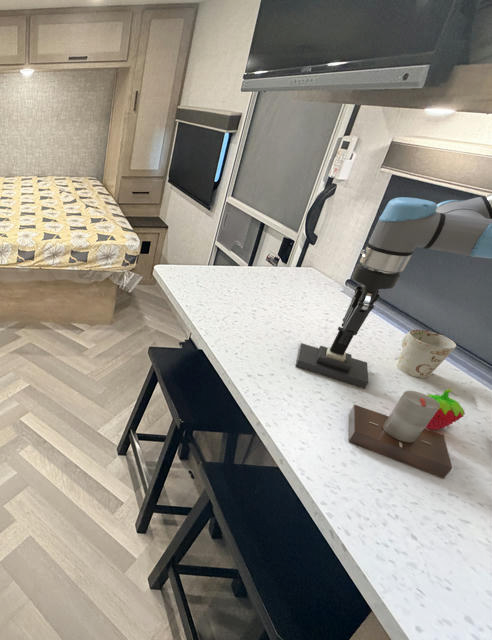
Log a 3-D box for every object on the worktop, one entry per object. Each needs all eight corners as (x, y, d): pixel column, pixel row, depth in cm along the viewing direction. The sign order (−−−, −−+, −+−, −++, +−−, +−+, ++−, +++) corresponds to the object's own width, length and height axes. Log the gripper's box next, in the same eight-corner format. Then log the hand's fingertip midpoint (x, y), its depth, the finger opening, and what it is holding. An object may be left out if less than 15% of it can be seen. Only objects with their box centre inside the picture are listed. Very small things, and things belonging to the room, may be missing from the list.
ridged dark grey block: (363, 369, 103) (370, 356, 101) (364, 389, 96) (371, 376, 94) (298, 349, 111) (303, 337, 109) (295, 366, 104) (300, 354, 102)
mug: (401, 377, 100) (421, 344, 95) (375, 349, 111) (392, 319, 106) (443, 383, 98) (465, 350, 93) (412, 354, 108) (431, 323, 104)
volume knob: (382, 420, 83) (403, 385, 79) (414, 431, 80) (438, 396, 76) (383, 434, 80) (405, 399, 75) (417, 447, 77) (442, 411, 73)
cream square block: (343, 357, 102) (345, 352, 101) (342, 364, 100) (345, 358, 99) (325, 352, 104) (328, 347, 103) (325, 358, 102) (327, 353, 101)
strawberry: (397, 412, 89) (419, 377, 85) (439, 421, 87) (465, 385, 82) (410, 430, 85) (434, 394, 80) (455, 440, 82) (483, 404, 77)
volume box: (435, 445, 81) (444, 434, 80) (443, 478, 74) (453, 467, 73) (348, 414, 89) (354, 403, 87) (348, 441, 82) (354, 430, 81)
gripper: (357, 255, 97) (319, 335, 108) (358, 272, 88) (317, 358, 99) (399, 262, 92) (355, 345, 103) (404, 281, 83) (355, 370, 95)
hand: (336, 351), depth 101 cm, fingers closed
